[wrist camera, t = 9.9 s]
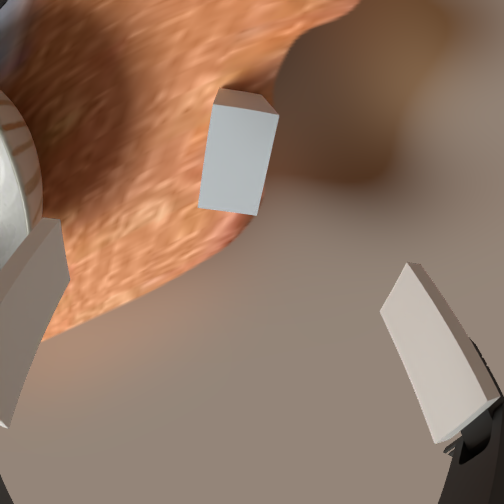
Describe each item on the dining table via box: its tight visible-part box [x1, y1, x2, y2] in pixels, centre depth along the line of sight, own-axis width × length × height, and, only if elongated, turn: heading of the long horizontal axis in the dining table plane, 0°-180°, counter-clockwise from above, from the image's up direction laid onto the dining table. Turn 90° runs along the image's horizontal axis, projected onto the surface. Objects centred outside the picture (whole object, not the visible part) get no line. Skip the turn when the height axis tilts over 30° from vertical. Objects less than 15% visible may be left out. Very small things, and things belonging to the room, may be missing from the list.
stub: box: [198, 88, 279, 215], centre depth 24 cm, size 4×7×12 cm, turn 169°
